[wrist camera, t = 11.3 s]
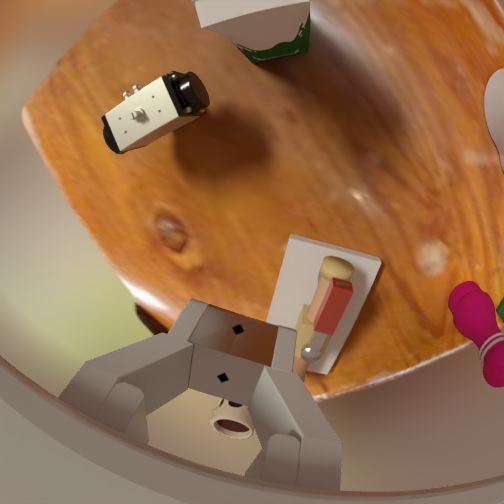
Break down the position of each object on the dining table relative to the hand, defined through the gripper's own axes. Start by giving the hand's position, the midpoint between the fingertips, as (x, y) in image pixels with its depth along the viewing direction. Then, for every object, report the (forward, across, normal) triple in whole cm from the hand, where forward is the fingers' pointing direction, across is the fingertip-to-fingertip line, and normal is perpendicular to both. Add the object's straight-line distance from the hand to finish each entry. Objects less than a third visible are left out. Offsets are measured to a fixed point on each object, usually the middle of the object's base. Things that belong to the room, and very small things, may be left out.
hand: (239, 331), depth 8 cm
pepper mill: (+31, -32, +11) cm, 46 cm away
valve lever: (+23, -9, +16) cm, 29 cm away
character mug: (+31, -2, +39) cm, 50 cm away
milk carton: (+31, +7, -16) cm, 36 cm away
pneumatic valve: (+31, +16, -4) cm, 35 cm away
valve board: (+31, -9, +21) cm, 38 cm away
